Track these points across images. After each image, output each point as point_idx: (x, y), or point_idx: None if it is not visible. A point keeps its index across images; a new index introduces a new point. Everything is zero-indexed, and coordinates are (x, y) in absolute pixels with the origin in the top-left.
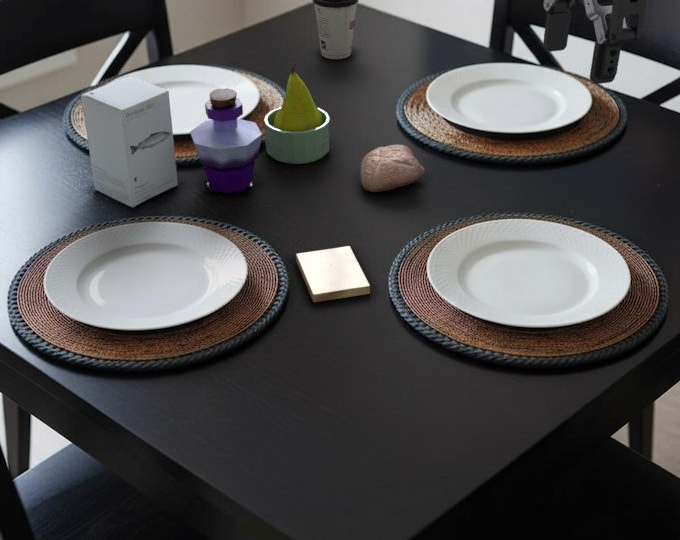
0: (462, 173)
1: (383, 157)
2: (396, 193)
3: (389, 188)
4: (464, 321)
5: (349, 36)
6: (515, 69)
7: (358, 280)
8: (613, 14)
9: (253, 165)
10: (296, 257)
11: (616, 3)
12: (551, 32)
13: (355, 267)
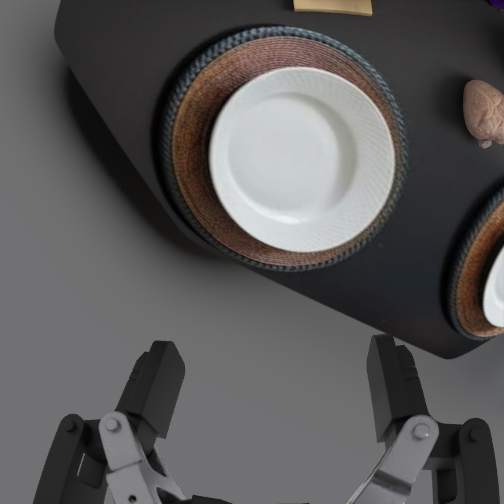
0: (472, 183)
1: (495, 106)
2: None
3: (463, 96)
4: (231, 79)
5: None
6: None
7: (306, 1)
8: (61, 470)
9: (501, 2)
10: None
11: (49, 489)
12: (382, 376)
13: (331, 5)
